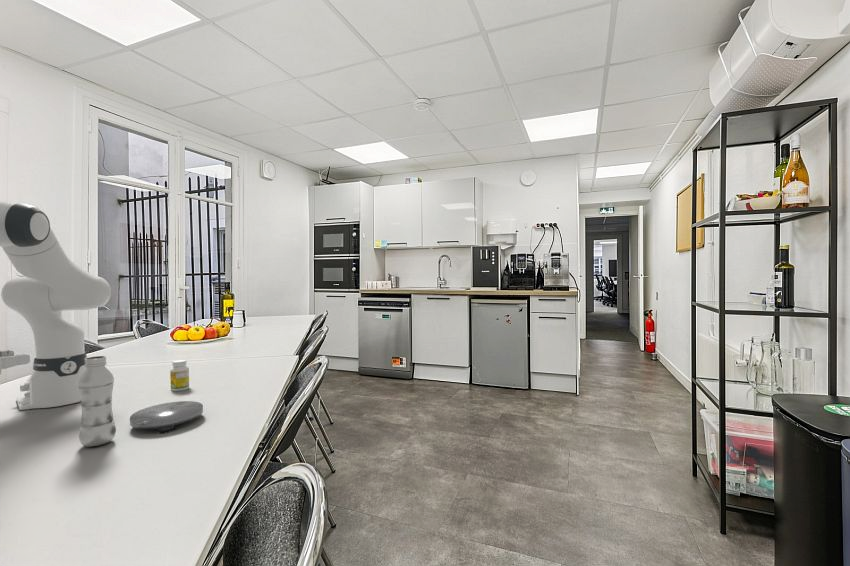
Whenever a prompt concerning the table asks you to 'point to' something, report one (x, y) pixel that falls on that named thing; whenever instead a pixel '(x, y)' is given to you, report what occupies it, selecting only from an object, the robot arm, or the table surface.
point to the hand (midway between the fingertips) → (20, 356)
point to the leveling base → (166, 415)
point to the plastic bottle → (96, 403)
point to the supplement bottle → (179, 375)
